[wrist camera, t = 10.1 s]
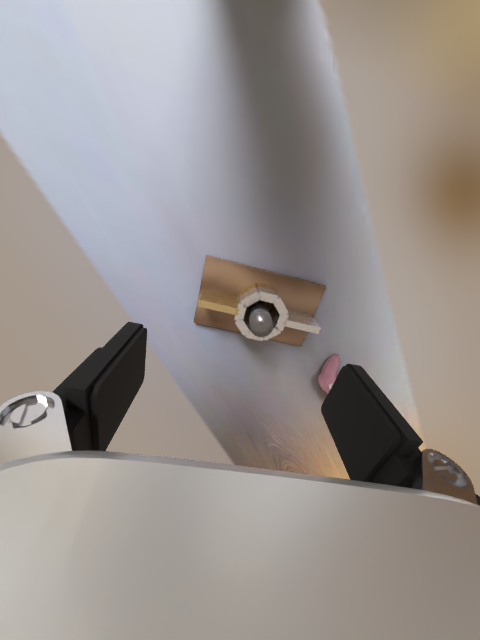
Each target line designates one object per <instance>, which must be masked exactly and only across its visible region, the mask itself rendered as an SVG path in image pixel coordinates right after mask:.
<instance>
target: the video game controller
mask: <svg viewBox="0 0 480 640" xmlns="http://www.w3.org/2000/svg"><path fill="white" fill-rule="evenodd" d="M339 363H340V357H339V356H338V355H336V354H334V355H332V356H330V357H329V358H328V359H327V361H326V362H325V364H324V365H323V368H322V371H321V373H320V374H319V377H318V380H319V385H320V386H321V388H322V390H323V391H325V392H327V394H328V393H329V391H330V389H331V387H332V385H333V384H334V382H335V380H336V378H337V375H336V371H337V368H338V366H339Z"/></svg>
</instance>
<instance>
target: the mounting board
mask: <svg viewBox="0 0 480 640" xmlns="http://www.w3.org/2000/svg"><path fill="white" fill-rule="evenodd" d="M256 282H259V283H262V284H266V285H270V286H273V288H275V289H276V291H277V293H278V294H279V296H280V298H281V300H282V301H283V303H284V305H285V307H286V309H288V310H292V311H297V312H301V313H305V314H309V315H311V316H312V317H314V315H315V313H316V310H317V308H318V305H319V303H320V301H321V298H322V296H323V294H324V291H325V289H326V286H324V285H321V284H317V283H313V282H309V281H305V280H301V279H297V278H294V277H290V276H286V275H282V274H278V273H274V272H270V271H266V270H263V269H259V268H255V267H251V266H247V265H243V264H239V263H235V262H232V261H228V260H224V259H220V258H216V257H212V256H208V255H207V256H206V260H205V265H204V270H203V276H202V281H201V286H200V292H199V297H198V302H197V307H196V313H195V318H194V323H197V324H202V325H207V326H211V327H216V328H220V329H225V330H229V331H234V332H238V333H241V331H240V330H239V328H238V327H237V325H236V324H235V320H234V315H233V314H229V313H224V312H220V311H216V310H211V309H207V308H203V307H198V305H199V300H200V297H201V295H202V293H203V291H204V289H205V290H209V291H213V292H217V293H221V294H226V295H230V296H234V297H237V296H238V293H240V290H242V289H244V288H245V287H247V286H249V285H250V284H252V283H255V285H256ZM266 303H267V306H268V309H269V312H270V314H271V311H272V308H273V305H274V304H273V303H269V302H266ZM245 313H246V315H247V316H248V317H249V312H248V307H247V308H246V311H245ZM306 334H307V331H303V330H299V329H294V328H290V327H285V326H284V329H283V331H281V333H280V334H278V335H276V336H274V337H272V338H270V340H275V341H279V342H284V343H288V344H293V345H297V346H302V343H303V341H304V339H305V336H306Z"/></svg>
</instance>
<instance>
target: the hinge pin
mask: <svg viewBox="0 0 480 640" xmlns="http://www.w3.org/2000/svg"><path fill="white" fill-rule="evenodd" d="M248 312H249V323H250V330H251V332H252V333H253V334H254V335H255V336H257V337H265V336H268V335H269V334H270V333H271V332H272V330H273V322H272V318H271V315H270V312H269V309H268V306H267V303H266V302H265V301H261V300H259V301H257V302H255V303H253V304H252V305H250V306H248Z"/></svg>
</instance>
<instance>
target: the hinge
mask: <svg viewBox="0 0 480 640" xmlns="http://www.w3.org/2000/svg"><path fill="white" fill-rule="evenodd" d="M259 300H261V301H265V302H269V303H273V304H274V305H273V308H272V311H271V314H270V315H271V318H272V322H273V330H272V332H271V333H270V334H269V335H268V336H265V337H257V336H255V335H254V334H253V333H252V332H251V330H250V323H249V317H248V316H247V315H246V313H245V311H246V308H247V307H248V306H250V305H252V304H253V303H255V302H257V301H259ZM198 307H203V308H207V309H211V310H216V311H220V312H224V313H229V314H233V315H234V320H235V324H236V325H237V327H238V328H239V330H240V331H241V333H242V334H243V336H246V338H250V339H254V340H259V341H263V340H265V341H266V340H268V339H270V338H272V337H274V336H276V335H278V334H280V333H281V331H283V329H284V326H285V327H290V328H294V329H299V330H303V331H307V332H312V333H316V334H319V332H320V330H321V327H320V326H319V325H318V323H317V322H316V321H315V320H314V319H313V317H312V316H311V315H309V314H305V313H301V312H297V311H292V310H288V309H286V307H285V305H284V303H283V301H282V300H281V298H280V296H279V294H278V293H277V291H276V289H275V288H273V286H270V285H266V284H262V283H259V282H256V285H255V283H252V284H250V285H249V286H247V287H245V288H244V289H242V290H240V293H238V296H237V297H234V296H230V295H226V294H221V293H217V292H213V291H209V290H205V289H204V291H203V293H202V295H201V297H200V300H199V305H198Z"/></svg>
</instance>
